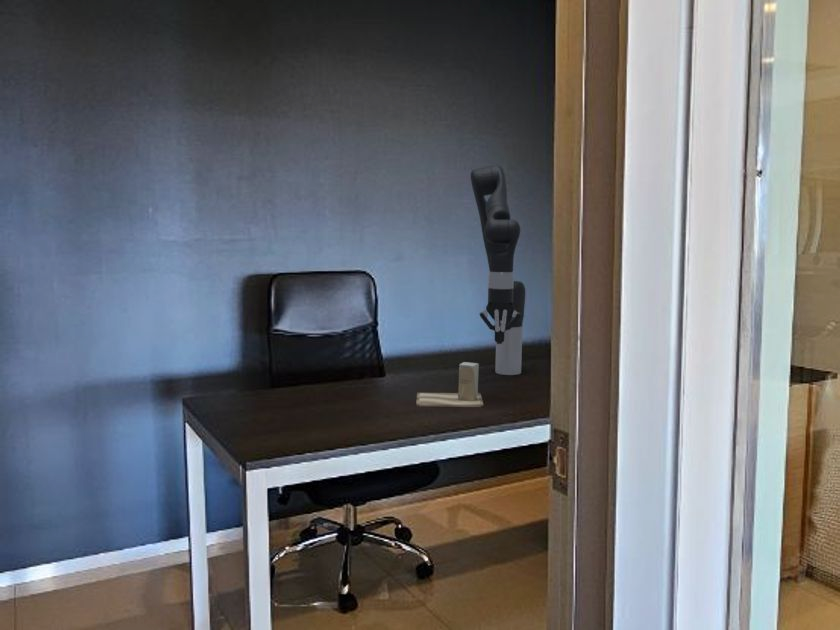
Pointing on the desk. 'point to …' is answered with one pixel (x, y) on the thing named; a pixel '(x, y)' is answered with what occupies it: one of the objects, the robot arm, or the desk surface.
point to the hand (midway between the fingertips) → (499, 343)
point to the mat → (446, 400)
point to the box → (468, 381)
